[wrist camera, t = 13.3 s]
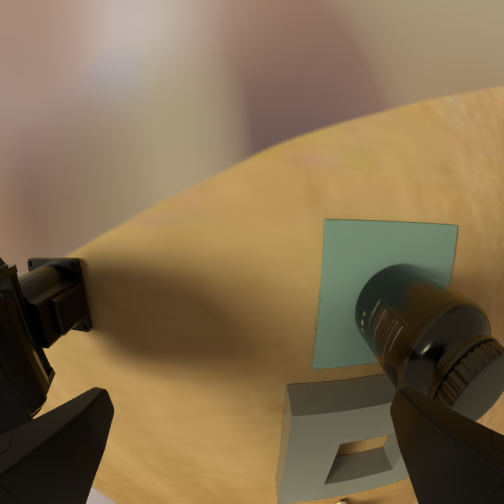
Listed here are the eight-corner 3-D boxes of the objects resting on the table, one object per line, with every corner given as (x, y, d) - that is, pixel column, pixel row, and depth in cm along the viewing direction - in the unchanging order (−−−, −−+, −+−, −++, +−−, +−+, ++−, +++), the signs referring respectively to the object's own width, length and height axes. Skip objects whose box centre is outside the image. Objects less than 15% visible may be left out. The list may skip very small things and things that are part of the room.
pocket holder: (275, 479, 26) (277, 503, 22) (286, 384, 22) (292, 416, 18) (401, 457, 26) (410, 476, 22) (450, 359, 22) (470, 379, 18)
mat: (312, 365, 21) (313, 369, 21) (324, 218, 19) (326, 220, 18) (428, 349, 21) (431, 352, 21) (453, 224, 19) (457, 225, 18)
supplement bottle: (428, 257, 19) (541, 317, 7) (418, 332, 20) (498, 417, 9) (352, 266, 19) (455, 358, 7) (348, 347, 20) (409, 463, 9)
